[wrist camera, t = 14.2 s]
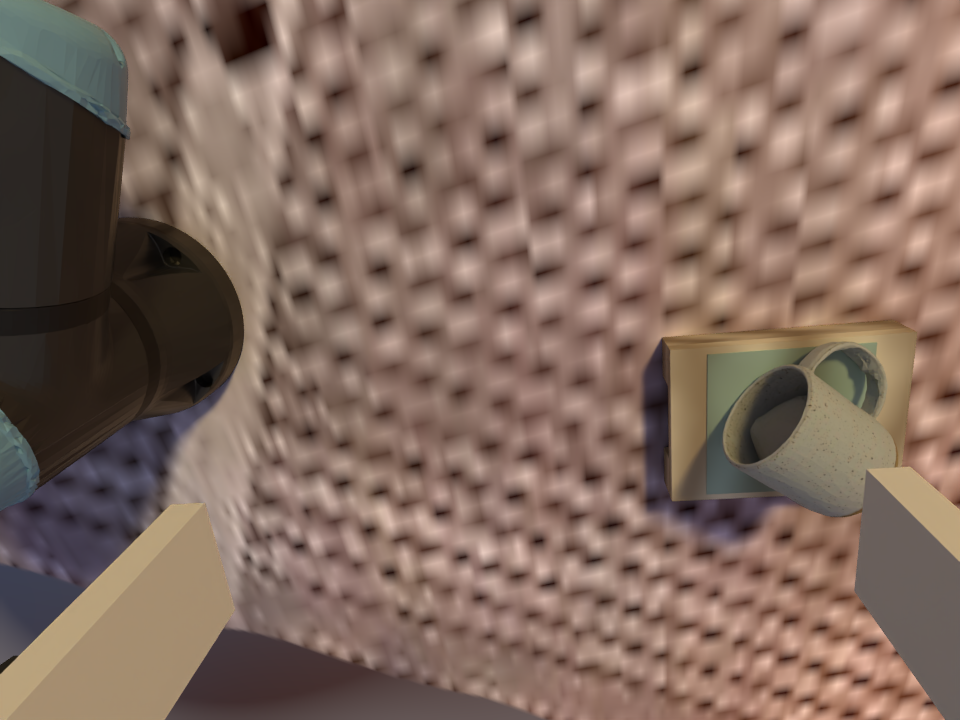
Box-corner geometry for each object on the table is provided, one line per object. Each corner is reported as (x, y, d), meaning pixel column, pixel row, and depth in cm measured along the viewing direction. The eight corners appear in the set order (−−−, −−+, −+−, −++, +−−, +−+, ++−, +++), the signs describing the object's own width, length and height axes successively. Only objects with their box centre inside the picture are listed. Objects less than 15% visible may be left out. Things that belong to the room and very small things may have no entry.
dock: (664, 481, 50) (672, 502, 48) (662, 337, 47) (670, 350, 44) (877, 470, 49) (899, 491, 46) (893, 320, 45) (918, 332, 42)
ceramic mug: (799, 488, 46) (850, 551, 39) (707, 433, 45) (742, 486, 38) (903, 373, 43) (979, 418, 36) (806, 311, 42) (864, 344, 35)
